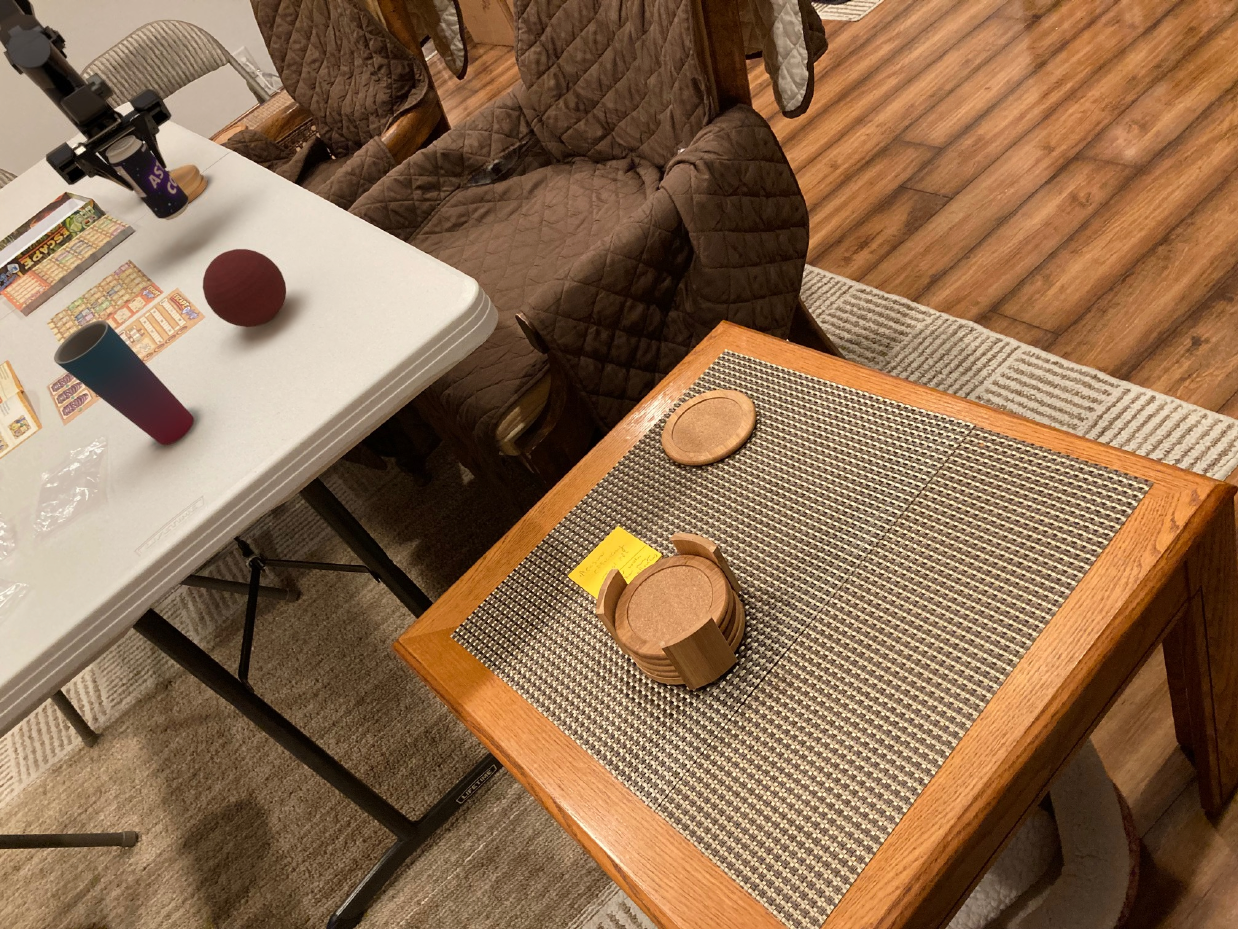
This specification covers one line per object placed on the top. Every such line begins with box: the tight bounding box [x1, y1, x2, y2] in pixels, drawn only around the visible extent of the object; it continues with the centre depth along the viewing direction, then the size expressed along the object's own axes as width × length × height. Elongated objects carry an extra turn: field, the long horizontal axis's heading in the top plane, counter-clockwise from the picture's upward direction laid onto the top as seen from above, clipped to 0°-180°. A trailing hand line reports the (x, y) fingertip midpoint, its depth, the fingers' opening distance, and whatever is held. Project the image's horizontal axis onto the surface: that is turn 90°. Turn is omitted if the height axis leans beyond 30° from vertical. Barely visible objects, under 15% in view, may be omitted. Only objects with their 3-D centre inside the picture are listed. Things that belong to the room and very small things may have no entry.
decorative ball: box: [202, 248, 287, 328], centre depth 113 cm, size 10×10×10 cm
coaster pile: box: [169, 164, 208, 204], centre depth 157 cm, size 10×10×3 cm
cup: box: [53, 319, 195, 446], centre depth 101 cm, size 7×7×15 cm
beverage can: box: [106, 136, 189, 221], centre depth 133 cm, size 6×6×12 cm
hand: (148, 178), depth 131 cm, fingers closed on beverage can, 5 cm apart
